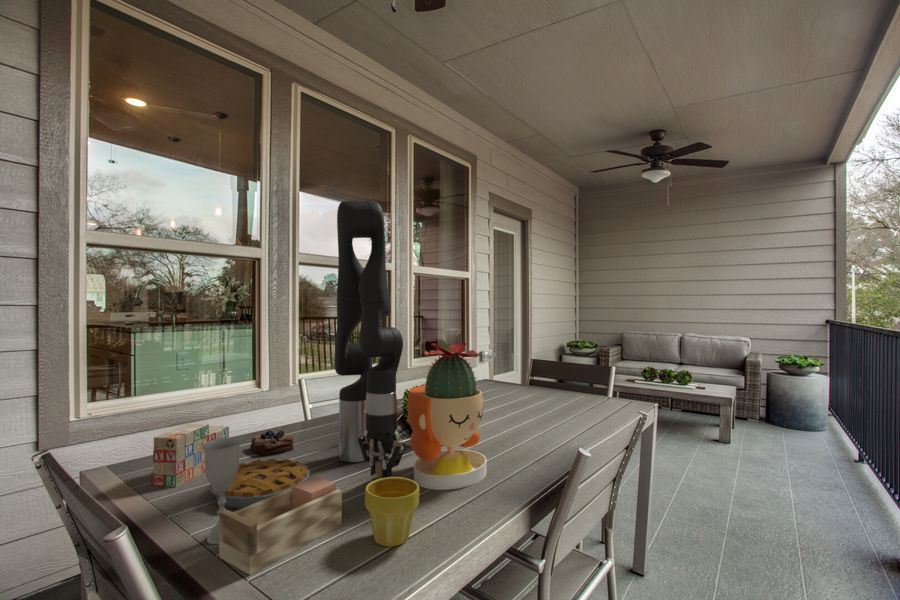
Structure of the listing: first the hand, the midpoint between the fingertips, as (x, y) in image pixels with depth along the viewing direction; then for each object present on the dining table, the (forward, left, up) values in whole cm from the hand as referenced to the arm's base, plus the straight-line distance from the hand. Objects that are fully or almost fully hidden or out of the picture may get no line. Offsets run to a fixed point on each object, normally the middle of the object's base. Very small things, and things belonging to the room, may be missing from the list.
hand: (381, 481), depth 107 cm
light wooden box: (+27, 0, -2) cm, 27 cm away
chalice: (+33, -11, -2) cm, 35 cm away
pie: (+16, -24, -3) cm, 29 cm away
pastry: (-4, -48, -3) cm, 49 cm away
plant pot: (+15, +16, -2) cm, 22 cm away
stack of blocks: (+18, -50, -3) cm, 54 cm away
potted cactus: (-18, +6, -2) cm, 19 cm away
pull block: (+11, 0, 0) cm, 11 cm away
